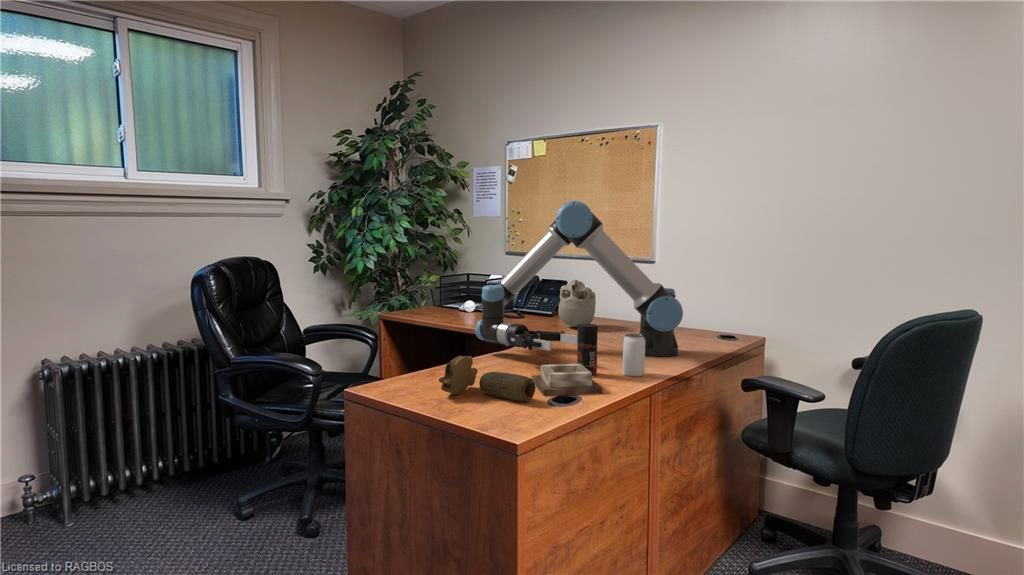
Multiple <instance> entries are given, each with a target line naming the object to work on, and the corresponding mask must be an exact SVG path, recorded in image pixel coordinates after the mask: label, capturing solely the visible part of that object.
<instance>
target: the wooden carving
mask: <svg viewBox="0 0 1024 575" xmlns="http://www.w3.org/2000/svg"><path fill="white" fill-rule="evenodd" d="M473 363H474V362H473V357H472V356H471V355H470V356H469V355H464V356H463V355H458V356H456V357H454V358H452V360H450V361H449V362H447V364H446V365H445V369H444V375H443V376H442V377H440V378H438V382H439V383H441V384H442V385H441V387H440V389H441V390H442V391H443V392H446V393H450V394H452V395H456V396H457V395H461V394H462V393H464V392H465V391H466V390H467V388H469V386H470V387H472V386H473V385H474V384H475V382H476V377H477V374H478V369H477V368H476V367H473ZM460 393H461V394H460Z"/></svg>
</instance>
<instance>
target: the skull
mask: <svg viewBox="0 0 1024 575" xmlns="http://www.w3.org/2000/svg"><path fill="white" fill-rule="evenodd" d="M559 292H560V293H559V294H560V295H559V299H560V301H559V305H558V310H557V312H558V316H559V318H560V320H561V321H562V323H564V324H565V325H567V326H569V327H571V328H573V327H578V324H592V322H593V321H594V318H595V314H596V306H597V303H596V293H595V291H593V290H592V289H591V288H590V287H589V286H588V287H586V286H585V284H584V282H582V281H579V280H577V279H572V280H571V281H570V283H568V284H566V285H565V284H564V285H562V286H561V287H560V290H559Z"/></svg>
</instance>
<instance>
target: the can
mask: <svg viewBox="0 0 1024 575" xmlns="http://www.w3.org/2000/svg"><path fill="white" fill-rule="evenodd" d="M622 342H623V343H622V344H623V346H622V347H623V349H622V375H624V374H625V375H624V376H626V375H628V376H627V377H630V376H640V377H643V376H644V375H645V371H646V370H645V366H646V365H645V364H646V362H645V361H646V355H645V339H644V335H641V334H639V333H625V335H624V338H623V341H622ZM642 375H643V376H642Z"/></svg>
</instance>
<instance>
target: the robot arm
mask: <svg viewBox="0 0 1024 575" xmlns="http://www.w3.org/2000/svg"><path fill="white" fill-rule="evenodd" d="M571 244H572V245H574V246H575V247H576V249H583V250H585V251H586V252H587V253H588V255H590V257H591V258H592V259H593V260H595V262H596V263H597V264H598V265H599V266H600V267H601V268H602V269H603V270H604V271H605V272H606V273H607V275H609V276H610V277H611V279H613V281H614V282H616V283H617V285H618V286H619V287H620V288H621V289H622V290H623V291H624V292H625V293H626V294H627V295H628V296H629V297H630V298H631V299H632V300H633V308H634V309H635V310H636V311H637V312H638V313H639V314H640V326H639V327H640V328H639V329H640V330H639V332H638V334H641V335H644V339H645V356H647V355H648V357H649V356H650V357H659V356H665V357H672V356H671V355H675V356H677V355H679V345H678V341H677V338H676V335H675V329H676V328H677V327H679V325H681V324H680V323H682V320H683V317H684V316H683V315H684V311H683V306H682V303H680V301H679V300H678V299H677V298H676V297H677V296H676V295H677V294H676V291H675V289H674V288H666V287H664V286H663V285H662V284H661V283H657V282H653V281H652V280H651V279H650V278H649V277H648V276H647V275H646V273H644V271H643V270H642V269H641V268H640V267H639V266H638V265H637V264H636V263H635V262H634V261H633V260H632V259H631V258H630V257H629V256H628V255H627V254H626V253H625V251H623V249H622V248H620V247H619V246H618V245H617V244H616V242H615V241H613V240H612V238H611V237H610V236H609V235H608V234H607V233H606V232H605V231H604V223H603V222H602V221H601V220H600V219H599V218H598V217H597V216H596V215H595V214H594V213H593V211H591V209H590V207H589V206H588V205H587V204H586V203H584V202H581V201H578V200H570V201H568V202H565V203H564V204H563V205H561V206H560V208H559V209H557V213H556V216H555V220H554V221H552V223H551V224H550V225H549V226H548V231H547V232H546V233H545V234H544V235H543V236H542V237H541V238H540V239H539V240H538V241H537V243H535V245H534V246H533V247H532V248H531V249H529V250H528V252H526V254H525V255H524V256H523V257H522V258H521V259H520V260H519V261H518V262H517V263H516V264H515V265H514V266H513V267H512V268H511V269H510V271H508V272H507V274H506V275H505V276H504V277H502V278H501V280H500V281H498V283H497V284H494V285H493V284H488V285H483V287H482V290H481V291H482V292H481V319H479V320H478V321H477V322H476V325H475V328H474V332H475V336H476V337H477V338H478V339H479V340H482V341H484V342H487V343H493V344H494V343H495V344H500V345H505V346H506V347H509V346H511V347H515V348H523V349H527V348H528V351H532V350H533V349H538V350H542V351H543V350H544V351H550V352H551V351H552V342H560V343H563V344H564V343H565V344H571V345H576V346H577V341H578V335H574V334H567V333H566V332H564V330H561V331H560V332H559V331H546V330H545V331H544V330H539V329H538V330H531V329H530V330H529V328H528V327H527V326H526V325H525V324H520V323H515V322H509V321H504V320H505V316H504V315H505V312H504V311H505V307H506V306H507V305H508V304H509V303H510V301H511V300H512V299H513V298H515V296H516V295H517V294H518V293H519V292H520V291H521V290H522V289H523V288H525V286H526V285H527V284H528V283H529V282H530V281H531V280H532V279H533V278H534V277H535V276H536V275H537V274H538V273H539V272H540V271H541V270H542V269H543V268H544V267H545V266H546V265H547V264H548V263H549V262H550V260H552V259H553V257H555V255H557V254H558V252H560V251H561V250H562V249H563V248H564V247H566V246H570V245H571ZM676 354H677V355H676Z"/></svg>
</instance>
